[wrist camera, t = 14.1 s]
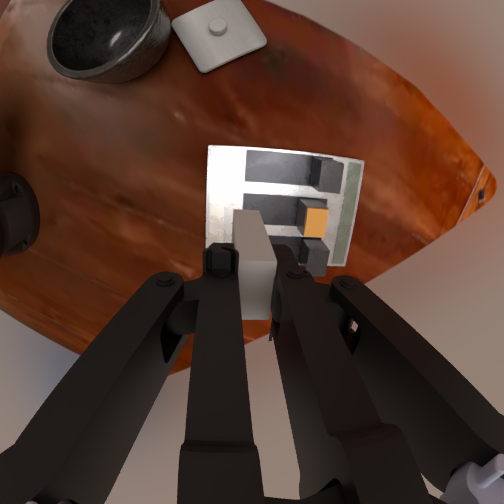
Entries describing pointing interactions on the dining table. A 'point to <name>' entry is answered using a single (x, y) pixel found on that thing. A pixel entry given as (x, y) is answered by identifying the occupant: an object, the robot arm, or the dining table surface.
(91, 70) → the planter
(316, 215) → the block
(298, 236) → the panel
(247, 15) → the light switch
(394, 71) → the dining table surface
